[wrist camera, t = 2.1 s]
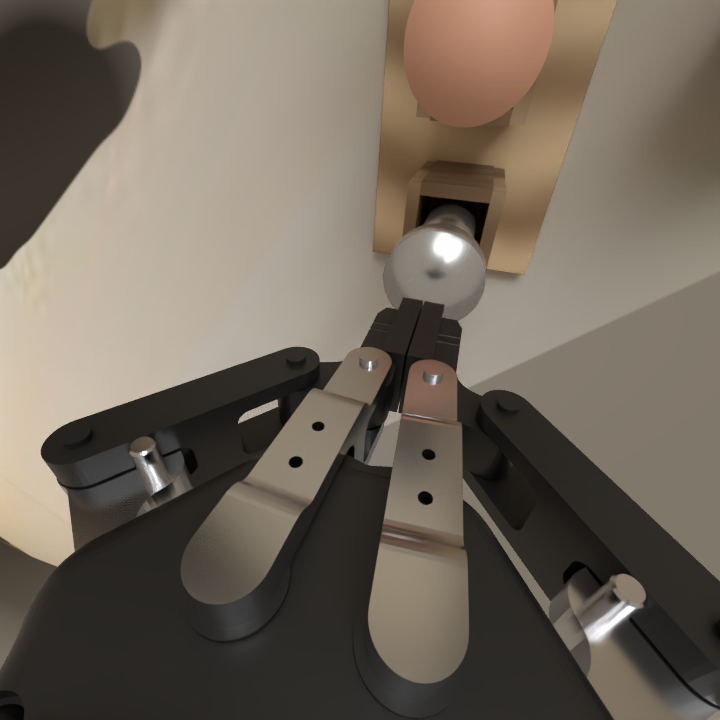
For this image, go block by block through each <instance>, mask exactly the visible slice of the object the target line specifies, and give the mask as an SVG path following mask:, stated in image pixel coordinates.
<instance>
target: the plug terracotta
mask: <svg viewBox="0 0 720 720" xmlns="http://www.w3.org/2000/svg"><path fill="white" fill-rule="evenodd" d="M553 27H554V1H553V0H415V1H414V3H413V5H412V8H411V11H410V14H409V17H408V21H407V25H406V30H405V37H404V65H405V71H406V76H407V80H408V83H409V86H410V88H411V91H412V93H413V95H414V97H415V98H416V100H417V102H418V103H419V104H420V106H421V107H422V108H423V109H424V110H425V111H426V112H427V113H428V114H429V115H430V116H431V117H433V118H434V119H436V120H437V121H439V122H441V123H443V124H446V125H449V126H454V127H474V126H479V125H483V124H486V123H488V122H491V121H493V120H495V119H497V118H498V117H500V116H502V115H504V114H505V113H506V112H507V111H509V110H510V109H511V108H513V107H514V106H515V105H516V104H517V103H518V102H519V101H520V100H521V99H522V98H523V96H524V95H525V94H526V93H527V92H528V90H529V89H530V88H531V86H532V85H533V83H534V82H535V80H536V78H537V76H538V75H539V73H540V71H541V69H542V67H543V64H544V62H545V60H546V57H547V54H548V51H549V48H550V44H551V40H552V35H553Z"/></svg>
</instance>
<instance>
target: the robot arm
mask: <svg viewBox="0 0 720 720" xmlns="http://www.w3.org/2000/svg"><path fill="white" fill-rule="evenodd" d="M444 306H445V304H441V303H435V302H430V301H425V302H424V305H423V300H418V299H412V298H406V297H403V299H402V301H401V304H400V306H399V308H398V310H397V309H392V308H385V309H384V310H382V311H381V312H379V313H378V314H377V316H376V318H375V320H374V323H373V324H372V326H371V329H370V330H369V332H368V334H367V336H366V338H365V340H364V341H363V343H362V345H361V347H360V348H357V349H354V350H352V351H351V352H349V354H348V355H347V356H346V358H345V359H344V360H343V361H341V362H320V359H319V356H318V354H317V353H316V352H315V351H313V350H311V349H309V348H305V347H290V348H286V349H283V350H280V351H277V352H274V353H272V354H269V355H266V356H263V357H260V358H257V359H254V360H251V361H248V362H245V363H242V364H239V365H236V366H233V367H230V368H228V369H225V370H222V371H219V372H216V373H213V374H210V375H207V376H204V377H201V378H198V379H195V380H192V381H189V382H187V383H184V384H181V385H178V386H175V387H172V388H169V389H166V390H163V391H160V392H157V393H154V394H151V395H148V396H145V397H143V398H140V399H137V400H134V401H131V402H128V403H125V404H122V405H119V406H116V407H113V408H110V409H107V410H104V411H101V412H99V413H96V414H93V415H90V416H87V417H84V418H81V419H78V420H75V421H73V422H70V423H68V424H66V425H64V426H62V427H60V428H59V429H57V430H56V431H55V432H53V433H52V434H51V435H50V436H49V437H48V438H47V439H46V440H45V442H44V443H43V445H42V448H41V456H42V458H43V459H44V461H45V462H46V463H47V465H48V466H49V468H50V469H51V470H52V472H53V473H54V474H55V476H56V477H57V481H58V483H59V485H60V486H61V487H62V489H63V490H64V491H65V493H66V494H67V495H68V499H69V507H70V515H71V524H72V532H73V540H74V548H75V552H74V553H73V554H71V555H70V556H69V557H68V558H67V559H65V560H64V561H63V562H62V563H61V564H60V565H59V566H58V567H57V568H56V569H55V570H54V571H53V573H52V574H51V575H50V576H49V577H48V578H47V580H46V581H45V582H44V583H43V585H42V586H41V588H40V589H39V591H38V592H37V594H36V595H35V597H34V599H33V601H32V602H31V604H30V606H29V608H28V611H27V613H26V615H25V618H24V620H23V623H22V626H21V628H20V631H19V633H18V635H17V638H16V640H15V642H14V644H13V646H12V648H11V650H10V653H9V655H8V657H7V658H6V660H5V662H4V664H3V666H2V667H1V669H0V720H719V719H720V581H719V580H718V579H717V578H715V577H714V576H713V575H712V574H711V573H710V572H709V571H708V570H707V569H706V568H705V567H704V566H703V565H702V564H701V563H699V562H698V561H697V560H696V559H695V558H694V557H693V556H692V555H691V554H690V553H689V552H688V551H687V550H685V548H683V547H682V546H681V545H680V544H679V543H678V542H677V541H676V540H675V539H674V538H673V537H672V536H671V535H670V534H669V533H667V532H666V531H665V530H664V529H663V528H662V527H661V526H660V525H659V524H658V523H657V522H656V521H655V520H654V519H652V518H651V517H650V516H649V515H648V514H647V513H646V512H645V511H644V510H643V509H641V507H640V506H639V505H638V504H637V503H636V502H634V501H633V500H632V499H631V498H630V497H629V496H628V495H627V494H626V493H625V492H624V491H623V490H622V489H621V488H619V487H618V486H617V485H616V484H615V483H614V482H613V481H612V480H611V479H610V478H609V477H608V476H607V475H606V474H605V473H603V472H602V471H601V470H600V469H599V468H598V467H597V466H596V465H595V464H594V463H593V462H592V461H591V460H590V459H588V458H587V457H586V456H585V455H584V454H583V453H582V452H581V451H580V450H579V449H578V448H577V447H576V446H575V445H574V444H573V443H572V442H570V441H569V440H568V439H567V438H566V437H565V436H564V435H563V434H562V433H561V432H560V431H559V430H558V429H557V428H556V427H554V426H553V425H552V424H551V423H550V422H549V421H548V420H547V419H546V418H545V417H544V416H543V415H542V414H541V413H539V412H538V411H537V410H536V409H535V408H534V407H533V406H532V405H531V404H530V403H529V402H528V401H527V400H525V399H524V398H523V397H521V396H519V395H517V394H515V393H512V392H509V391H505V390H492V391H489V392H487V393H485V394H484V395H483V396H481V395H478V394H476V393H474V392H472V391H470V390H469V389H467V388H466V387H464V386H463V385H462V384H461V383H460V381H459V380H458V378H457V375H456V369H457V361H458V354H459V347H460V338H461V332H462V328H461V326H460V325H459V323H458V321H457V320H453V319H447V318H442V316H443V311H444ZM276 399H277V400H278V407H277V408H274V409H272V410H270V411H267V412H265V413H263V414H260V415H258V416H255V417H253V418H251V419H248V420H246V421H244V422H241V423H239V424H238V420H239V418H240V417H241V416H242V415H243V414H244V413H245V412H247V411H249V410H252V409H254V408H257V407H259V406H262V405H264V404H266V403H269V402H271V401H274V400H276ZM399 402H400V406H399V413H402V415H401V421H400V427H399V433H398V439H397V446H396V451H395V457H394V462H393V467H382V466H369V465H368V463H369V461H370V458H371V455H372V454H373V452H374V449H375V447H376V445H377V442H378V440H379V438H380V436H381V433H382V431H383V428H384V421H385V420H386V418H387V415H388V412H389V411H393V412H397V409H398V405H399ZM521 474H522V475H521ZM463 479H464V480H465V481H466V483H467V484H468V486H469V487H470V489H471V490H472V491H473V493H474V494H475V496H476V497H477V498H478V500H479V501H480V503H481V504H482V506H483V507H484V508H485V510H486V511H487V513H488V514H489V515H490V517H491V518H492V520H493V521H494V522H495V524H496V525H497V527H498V528H499V529H500V531H501V532H502V534H503V535H504V536H505V538H506V539H507V541H508V542H509V543H510V545H511V546H512V548H513V549H514V551H515V552H516V553H517V554H518V556H519V557H520V559H521V560H522V562H523V563H524V565H525V566H526V567H527V569H528V570H529V572H530V573H531V574H532V576H533V577H534V579H535V580H536V581H537V583H538V584H539V586H540V587H541V588H542V590H543V591H544V593H545V594H546V596H547V597H548V598H549V600H550V601H551V603H550V606H549V618H548V617H547V615H546V614H545V612H544V611H543V609H542V608H541V606H540V605H539V603H538V601H537V600H536V599H535V597H534V595H533V594H532V592H531V591H530V589H529V588H528V586H527V585H526V583H525V582H524V580H523V578H522V577H521V575H520V574H519V572H518V571H517V570H516V568H515V566H514V565H513V563H512V562H511V560H510V559H509V557H508V555H507V554H506V552H505V551H504V549H503V548H502V546H501V545H500V543H499V542H498V540H497V538H496V537H495V535H494V534H493V532H492V531H491V529H490V528H489V526H488V525H487V523H486V522H485V521H484V520H483V518H482V517H481V516H480V515H479V513H477V512H476V511H475V510H474V509H473V508H472V507H471V506H470V505H469V504H468V503H467V502H465V501H464V500H463Z"/></svg>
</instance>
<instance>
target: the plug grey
mask: <svg viewBox="0 0 720 720" xmlns="http://www.w3.org/2000/svg"><path fill="white" fill-rule="evenodd" d="M476 221H477V217H476V212H475V209H474V207H473V206H472V204H471V203H470V202H469V201H465V200H457V199H448V198H443V199H441V200H439V201H438V202H437V203H435V204H434V206H433V207H432V208H431V210H430V212H429V214H428V216H427V218H426V220H425V222H424V224H423V225H422V226H419V227H417V228H415V229H413V230H411V231H409V232H408V233H407V234H405V235H404V236H403V237H402V238H401V239H400V240H399V242H398V243H397V245H396V246H395V248H394V249H393V251H392V253H391V254H390V256H389V258H388V260H387V262H386V265H385V268H384V275H383V281H384V288H385V292H386V294H387V297H388V299H389V301H390V302H391V304H392V305H393V306H394V308H395V309H397V310H398V308H399V306H400V304H401V301H402V299H403V297H406V298H412V299H418V300H423V305H424V302H425V301H430V302H435V303H441V304H445V306H444V311H443V316H442V318H447V319H453V320H457V321H458V320H460V319H462V318H464V317H465V316H467V315H468V314H469V313H470V312H471V311H472V310H473V309H474V308H475V307H476V305H477V304H478V303H479V301H480V299H481V297H482V294H483V291H484V286H485V273H486V265H485V258H484V255H483V252H482V250H481V248H480V246H479V244H478V243H477V242H476V240H475V239H474V236H475V228H476Z"/></svg>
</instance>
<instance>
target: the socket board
mask: <svg viewBox="0 0 720 720" xmlns="http://www.w3.org/2000/svg"><path fill="white" fill-rule="evenodd" d="M414 1H415V0H390V3H389V18H388V33H387V48H386V63H385V78H384V93H383V108H382V123H381V138H380V153H379V168H378V183H377V198H376V213H375V228H374V243H373V251H374V252H380V253H387V254H391V253H392V251H393V249H394V248H395V246H396V245H397V243H398V242H399V240H400V239H401V238H402V237H403V236H404V235H405V234H407V233H408V232H409V231H411V230H413V229H415V228H417V227H419V226H422V225H423V224H424V222H425V220H426V218H427V216H428V214H429V212H430V210H431V208H432V207H433V206H434V204H435V203H437V202H438V201H439V200H441V199H443V198H448V199H457V200H465V201H469V202H470V203H471V204H472V206H473V207H474V209H475V212H476V217H477V221H476V228H475V236H474V239H475V240H476V242H477V243H478V244H479V246H480V248H481V250H482V252H483V255H484V258H485V265H486V269H492V270H498V271H505V272H511V273H518V274H524V275H525V273H526V270H527V267H528V264H529V261H530V258H531V255H532V252H533V249H534V246H535V243H536V240H537V237H538V234H539V231H540V228H541V225H542V222H543V219H544V216H545V213H546V210H547V208H548V205H549V202H550V199H551V196H552V193H553V190H554V187H555V184H556V181H557V178H558V175H559V172H560V169H561V166H562V163H563V160H564V157H565V154H566V151H567V148H568V145H569V142H570V139H571V136H572V133H573V130H574V127H575V124H576V121H577V118H578V115H579V112H580V109H581V106H582V103H583V101H584V98H585V95H586V92H587V89H588V86H589V83H590V80H591V77H592V74H593V71H594V68H595V65H596V62H597V59H598V56H599V53H600V50H601V47H602V44H603V41H604V38H605V35H606V32H607V29H608V26H609V23H610V20H611V17H612V14H613V11H614V8H615V5H616V2H617V0H553V1H554V27H553V35H552V40H551V44H550V48H549V51H548V54H547V57H546V60H545V62H544V64H543V67H542V69H541V71H540V73H539V75H538V76H537V78H536V80H535V82H534V83H533V85H532V86H531V88H530V89H529V90H528V92H527V93H526V94H525V95H524V96H523V98H522V99H521V100H520V101H519V102H518V103H517V104H516V105H515V106H514V107H513V108H511V109H510V110H509V111H507V112H506V113H505V114H504V115H502V116H500V117H498V118H497V119H495V120H493V121H491V122H488V123H486V124H483V125H479V126H474V127H454V126H449V125H446V124H443V123H441V122H439V121H437V120H436V119H434V118H433V117H431V116H430V115H429V114H428V113H427V112H426V111H425V110H424V109H423V108H422V107H421V106H420V104H419V103H418V102H417V100H416V98H415V97H414V95H413V93H412V91H411V88H410V86H409V83H408V80H407V76H406V71H405V65H404V37H405V30H406V25H407V21H408V17H409V14H410V11H411V8H412V5H413V3H414Z"/></svg>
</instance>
